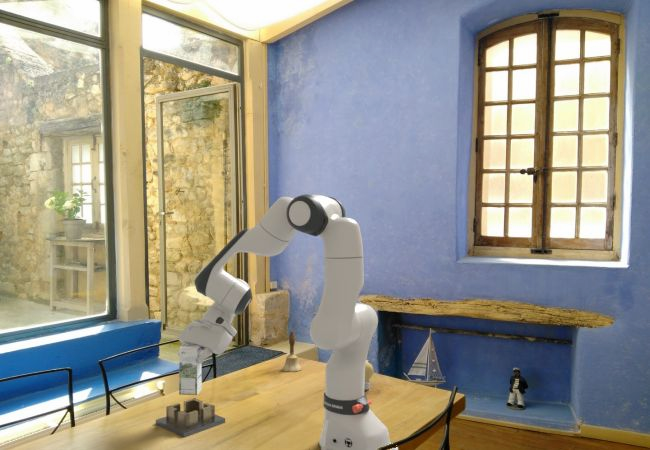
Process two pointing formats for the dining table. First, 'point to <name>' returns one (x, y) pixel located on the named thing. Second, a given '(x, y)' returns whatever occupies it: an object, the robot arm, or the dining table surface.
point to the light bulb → (368, 375)
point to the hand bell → (291, 357)
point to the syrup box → (189, 369)
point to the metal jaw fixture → (190, 417)
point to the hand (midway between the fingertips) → (189, 359)
